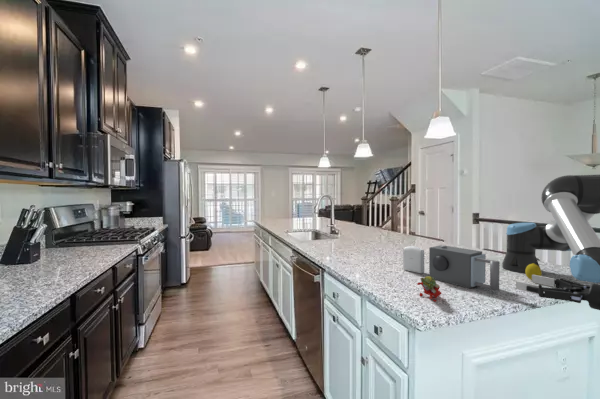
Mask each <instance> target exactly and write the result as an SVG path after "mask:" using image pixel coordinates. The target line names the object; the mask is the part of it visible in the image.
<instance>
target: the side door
mask: <svg viewBox="0 0 600 399" xmlns="http://www.w3.org/2000/svg"><path fill="white" fill-rule="evenodd" d="M486 263H487V264H489V265H490V266H489V272H490V273H489V284H487V283H486V267H487V266H486ZM500 265H501V263H500V260H495V259H493V260H492V259H491V260H490V259H487V256H486V253H482V254H480V255H476V256H472V257H471V286H472V288H475V287H481V288H485V289H489V290H491V291H494V292H495V291H496V292H498V291H500ZM474 286H475V287H474Z"/></svg>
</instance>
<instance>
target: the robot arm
mask: <svg viewBox="0 0 600 399" xmlns="http://www.w3.org/2000/svg"><path fill="white" fill-rule="evenodd" d="M541 203H542V206H543V207H544V209H545V210H546V211H547V212H549V213H551V215H552V217H553V219H554V220H553V221H552V220H551V221H549V222H548V223H547V224H546V225H537V223H535V222H515V223H511V224H509V225H507V228H506V233H505V234H506V252H505V256H504V258H503V261H502V266H501V267H502V268H503V269H504V270H507V271H511V272H515V273H516V272H517V273H522V274H523V273H524V274H526V273H525V270H526V267H527V266H528V265H529V264H532V263H534V264H536V265H538V266H539V267H540V268H541V266H540V263H539V262H538V259H537V256H536V255H537V254H536V251H537V250H539V251H541V250H545V251H560V252H572V254H573V255H572V256H571V257H570V260H569V269H570V274H571V276H572V277H574V279H576V280H577V281H581V282H587V283H591V285H587V284H582V283H578V282H576V281H572V280H569V279H565V278H562V277H561V278H560V277H559V278H552V277H547V276H543V275H541V276H538V275H532V280H531V283H528V282H524V281H519V280H516V281H515V289H516V290H519V291H523V292H527V293H531V294H532V293H533V294H537V295H538V297H539V298H545V299H551V300H560V301H565V302H566V301H567V302H573V303H578V304H581V303H582V301H586V302H587V303H588V306H589V308H591V309H594V310H596V311H597V310H598V311H600V238H599V236H598V234H597V233H596V231H595V230H594V229H593V227H592V225H591V224H590V222H589V221H590V220H591V218H593V216H595V215H599V214H600V174H584V175H583V174H581V175H580V174H577V175H573V174H572V175H571V174H569V175H563V176H559V177H557V178H554V179H553V180H551V181H550V182H548V183H547V184H546V185H545V187H544V188H543V190H542V192H541ZM533 283H535V284H533ZM537 284H538V285H537ZM543 285H544V286H545V287H543ZM546 286H550V287H546Z"/></svg>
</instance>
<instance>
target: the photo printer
mask: <svg viewBox="0 0 600 399" xmlns="http://www.w3.org/2000/svg"><path fill="white" fill-rule="evenodd" d="M402 252H403V258H402V259H403V262H402V263H403V271H408V272H412V273H418V274H424V273H425V250H424V249H423V248H421V247H418V246H412V245H410V246H409V245H408V246H406V247H405V246H404V248H403V251H402Z"/></svg>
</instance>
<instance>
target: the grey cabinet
mask: <svg viewBox="0 0 600 399" xmlns="http://www.w3.org/2000/svg"><path fill="white" fill-rule="evenodd" d="M480 254H483V251H482V250H476V249H475V250H474V249H469V248H464V247H457V246H456V247H455V246H451V245H444V244H440V245H436V246H431V247H429V255H428V257H429V262H428V263H429V267H428V268H429V269H428V272H429V275H428V276H431V277H433V278H434V279H435V281H436V280H437V281H440V282H444V283H448V284H452V285H455V286H459V287H463V288H467V289H472V288H476V286H474V287H472V286H471V257H472V256H476V255H480Z"/></svg>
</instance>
